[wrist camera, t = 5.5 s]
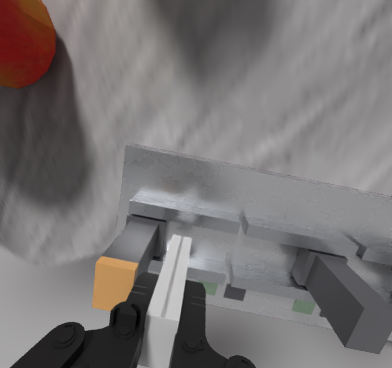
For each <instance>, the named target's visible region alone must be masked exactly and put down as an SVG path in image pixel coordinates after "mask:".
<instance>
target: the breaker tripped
mask: <svg viewBox="0 0 392 368" xmlns="http://www.w3.org/2000/svg"><path fill="white" fill-rule="evenodd" d="M167 222H168V221H167V220H162V219H157V218H152V217H147V216H142V215H137V214H132V213H129V214H128V215H127V218H126V227H125V228H124V230H123V231H122V232H121V233H120V234H119V236H118V237H117V238H116V239H115V240H114V242H113V243H112V244H111V245H110V247H109V248H108V249H107V250H106V251H105V253H104V254H103V255H102V256H101V258H100V259H99V260H98V261H97V262H96V269H95V281H94V292H93V305H92V308H97V309H102V310H107V311H111V310H112V309H113V307H114V306H115V305H117V304H119V303H120V302H123V301H126V300H127V297H128V295H129V293H130V292H131V289H132V287H133V286H134V283H135V281H136V279H137V277H138V276H139V275H141V274H142V273H143V272H147V270H148V267H149V265H150V262H151V260H152V257H153V256H158V257H160V255H161V252H162V249H163V245H164V239H165V234H166V228H167Z"/></svg>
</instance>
